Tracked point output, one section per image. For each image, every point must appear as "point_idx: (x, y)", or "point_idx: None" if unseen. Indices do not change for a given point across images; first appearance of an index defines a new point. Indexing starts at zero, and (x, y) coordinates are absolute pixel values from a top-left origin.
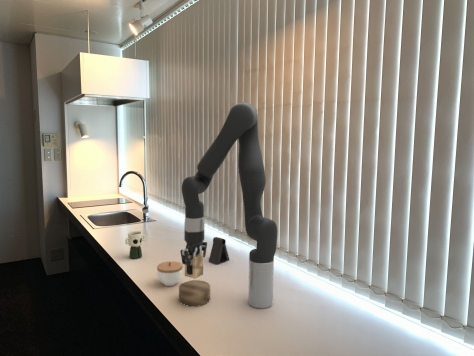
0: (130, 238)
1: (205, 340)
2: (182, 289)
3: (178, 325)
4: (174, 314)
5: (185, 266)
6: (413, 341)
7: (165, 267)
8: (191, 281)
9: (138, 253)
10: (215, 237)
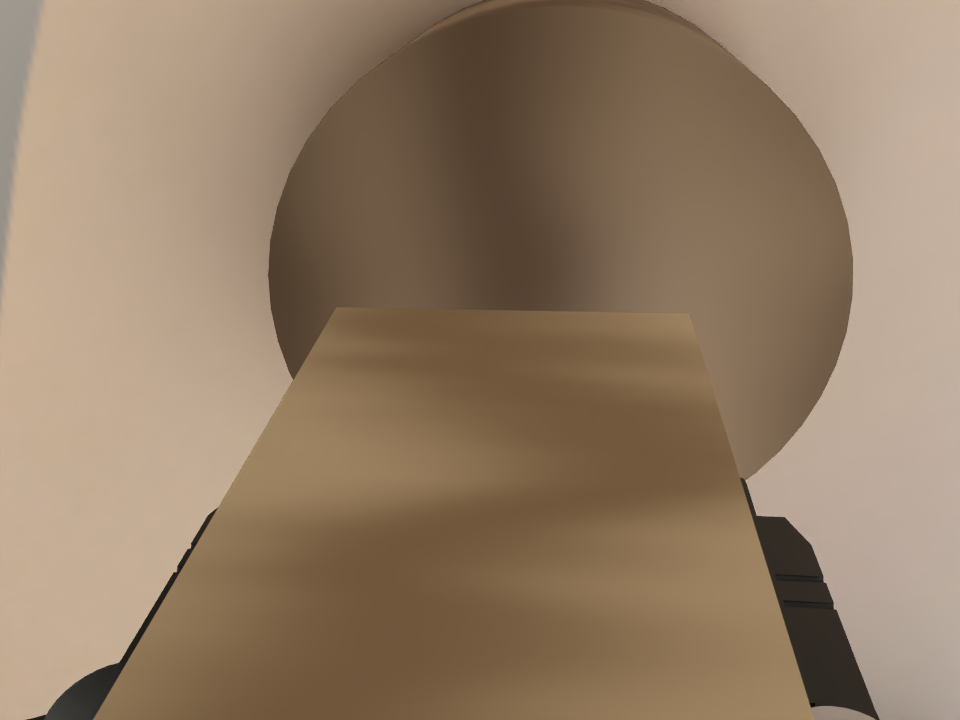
0: None
1: (49, 681)
2: (332, 202)
3: (4, 425)
4: (97, 261)
5: (250, 489)
6: None
7: None
8: (728, 125)
9: None
10: None
